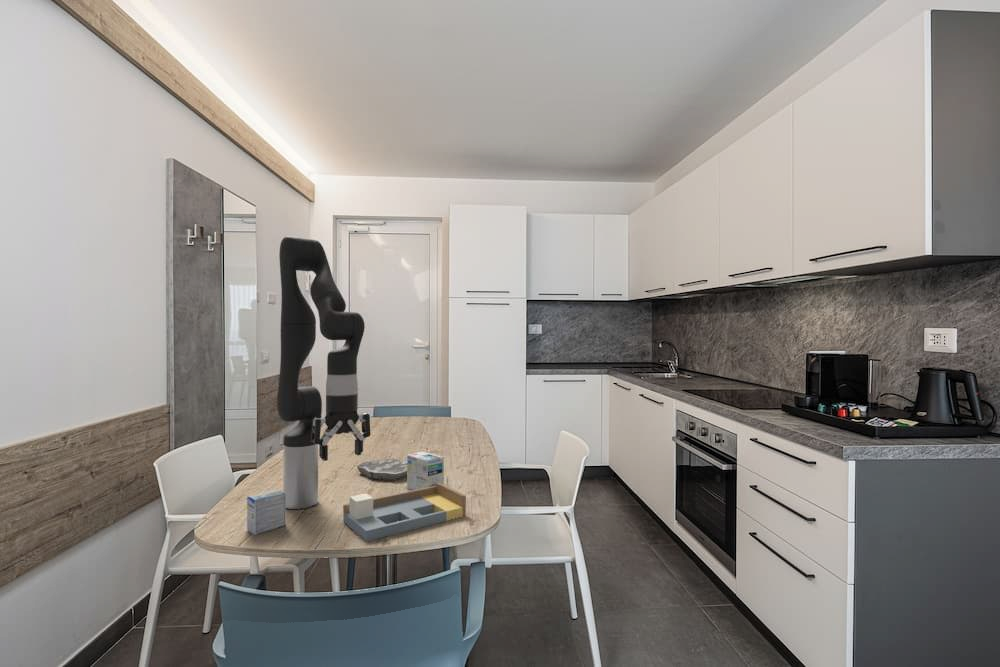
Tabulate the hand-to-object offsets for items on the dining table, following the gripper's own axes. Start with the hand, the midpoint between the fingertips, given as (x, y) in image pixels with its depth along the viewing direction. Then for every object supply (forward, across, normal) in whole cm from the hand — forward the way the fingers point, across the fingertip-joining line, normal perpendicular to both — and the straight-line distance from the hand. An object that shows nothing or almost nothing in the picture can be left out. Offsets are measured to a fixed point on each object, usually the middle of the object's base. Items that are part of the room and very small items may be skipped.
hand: (341, 457), depth 128 cm
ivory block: (+16, -6, 0) cm, 17 cm away
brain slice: (+18, -32, -38) cm, 53 cm away
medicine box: (+18, +14, -13) cm, 26 cm away
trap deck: (+18, -16, +3) cm, 25 cm away
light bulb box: (+18, -33, -14) cm, 41 cm away
